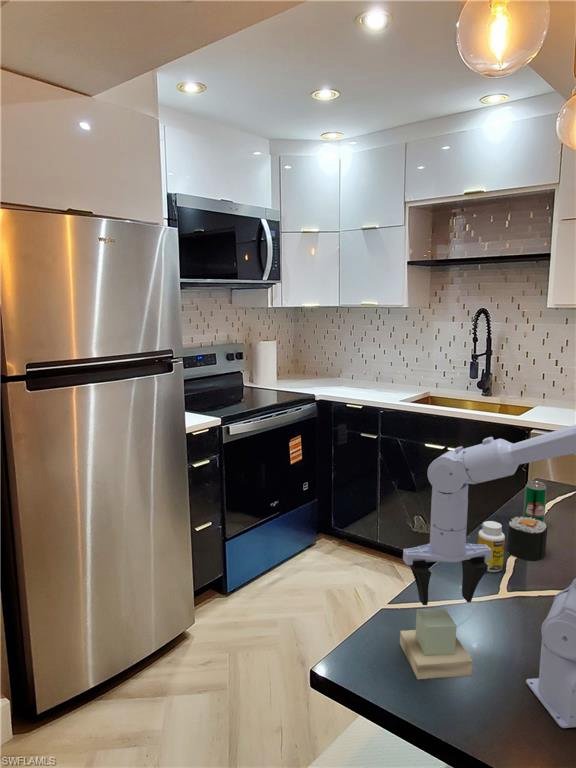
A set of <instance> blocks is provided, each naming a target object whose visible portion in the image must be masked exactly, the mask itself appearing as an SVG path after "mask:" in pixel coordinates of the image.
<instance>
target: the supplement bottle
mask: <svg viewBox="0 0 576 768" xmlns="http://www.w3.org/2000/svg"><path fill="white" fill-rule="evenodd" d="M502 527H503V525H502V524H501V523H500V522H497V521H493V520H487V521H483V522H482V529H480V530H479V531H478V537H477V539H478V540H477V544H478V545H485V544H486V545H487V546H488V547H489V548H490V549H491V560H487V561H486V560H484V562H485V563H486V564H487V565H488V569H487V573H497V572H500V571H502V570H503V567H504V558H505V557H504V553H505V543H506V542H505V541H506V536H505V533H503V528H502Z"/></svg>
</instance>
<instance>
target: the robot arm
mask: <svg viewBox="0 0 576 768" xmlns="http://www.w3.org/2000/svg"><path fill="white" fill-rule="evenodd" d="M568 455H575V456H576V424H574V425H570V426H566V427H564V428H560V429H556V430H554V431H550V432H547V433H544V434H540V435H537V436H534V437H531V438H527V439H525V440H522V441H518V442H515V443H513V442H510V441H508V440H506V439H503V438H497V439H494V437H493V436H489V437H485V438H484V439H483V440H482V443H479V444H476V445H473V446H468V447H465V448H464V446H462V445H461V446H457V447H456V448H454V450H449V451H446V452H445V453H443V454H441V455H440V456H439V457H437V458H435V459H434V460H433V461H432V462H431V463H430V464H428V465H429V466H428V468H427V479H428V482H429V483H430V484H431V488H432V489H431V503H430V504H431V506H430V508H431V509H430V528H429V529H430V530H429V531H430V533H429V534H430V535H429V543H427V544H423V545H418V546H414V547H411V548H410V547H409V548H403V550H402V551H403V553H402V560H403V562H404V563H405V565H406V566H409V568H410V570H411V572H412V574H413V577H414V578H413V579H414V581H415V584H416V588H417V592H418V600H419V602H420V603H421V605H422V606H428V603H429V586H430V579H431V578H432V577H431V576H432V572H431V571H430V570H429V568H428V567H429V566H428V564H427V563H434V562H443V563H444V562H445V563H459V562H461V568H462V581H461V583H462V584H461V593H462V594H461V596H462V598H463V599H464V600H465V601H466V603H471V602H472V600H473V597H474V595H475V591H476V589H477V586H478V584H479V583H480V581H481V580H482V578H483V577H484V576H485V575H486V573H488V571H487V569H488V565H487V564H486V563H485V562H484V560H486V561H487V560H491V549H490V548H489V547H488V546H487V545H486V544H485V545H478V543H477V544H476V543H475V544H474V543H468V542H467V529H468V527H467V526H468V525H467V524H468V506H469V505H468V504H469V485H476V484H480V483H485V482H488V481H494V480H497V479H502V478H506V477H509V476H513V475H515V473H516V472H517V469H518V468H519V466H520V465H523V464H529V463H533V462H538V461H544V460H548V459H553V458H558V457H563V456H568ZM540 633H541V648H540V660H539V669H538V670H539V672H538V673H539V674H538V677H537V678H527V679H526V681H525V683H526V684H527V686H528V688H530V690H531V691H532V692H533V694H534V695H535V696H536V698H537V699H538V700H539V701H540V702H541V704H542V705H543V707H544V708H545V709H546V710H547V711H548V713H549V714H550V716H551V717H552V718H553V720H554V721H555V722H556V724H557V725H558V726H559V727H560V728H562V729H567V728H576V577H575V578H574V579H573V580H572V582H571V584H570V585H569V586H568V587H567V588H566V589H563V590H560V591H559V592H558V593H556V594H555V596H554V598H553V601H552V605H551V607H550V609H549V611H548V615H547V616H546V618H545V620H543V622H542V624H541V628H540Z"/></svg>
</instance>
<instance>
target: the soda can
mask: <svg viewBox="0 0 576 768" xmlns="http://www.w3.org/2000/svg"><path fill="white" fill-rule="evenodd" d="M524 487H525V488H524V489H525V490H524V501H523V503H524V505H523V516H522V517H523V518H525V517H526V518H527V517H528V518H530V517H532V519H533V518H535V520H538V521H539V520H540V521H542V523H543V522H544V523H545V516H546V502H547V486H546V484H545V483H544V482H543V481H540V480H539V481H538V480H528V481H527V483H526V484H525V486H524Z"/></svg>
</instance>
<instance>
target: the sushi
mask: <svg viewBox="0 0 576 768" xmlns="http://www.w3.org/2000/svg"><path fill="white" fill-rule="evenodd" d="M507 540H508V543H507V553H508V552H509V553H508V554H509V555H510V556H512V557H514V558H517V559H520V560H523V561H524V560H525V561H529V562H530V561H531V562H538V561H541V560H542V559H544V558H545V556H546V549H547V540H548V527H547V524H546V523H545V521H544V522H543V523H542V521H540V520H539V521H538V520H535V518H533V519H532V517H530V518H528V517H527V518H526V517H525V518H523V516H519V517H518V516H515V517H513V518H511V521H509V523H508V538H507Z"/></svg>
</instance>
